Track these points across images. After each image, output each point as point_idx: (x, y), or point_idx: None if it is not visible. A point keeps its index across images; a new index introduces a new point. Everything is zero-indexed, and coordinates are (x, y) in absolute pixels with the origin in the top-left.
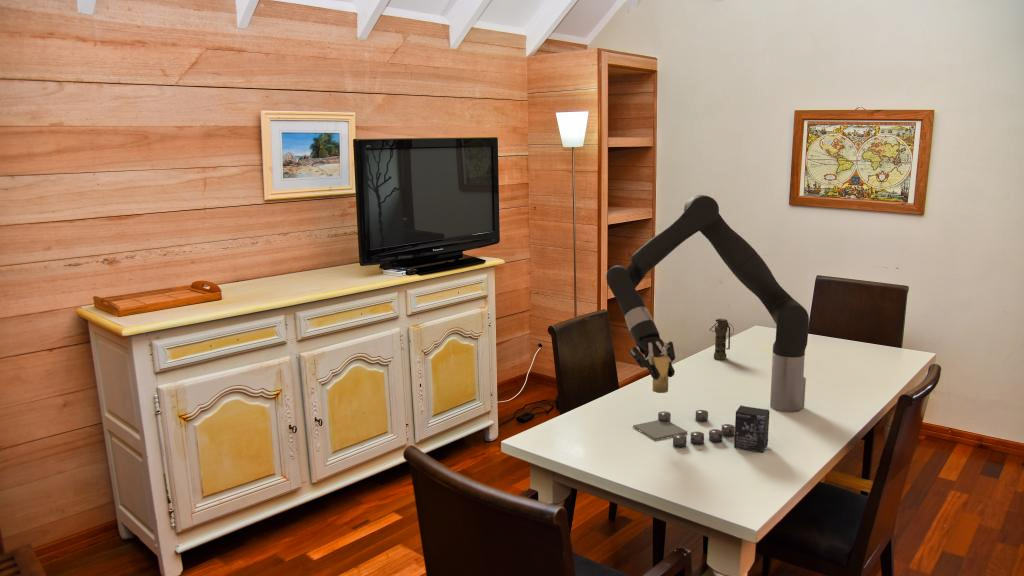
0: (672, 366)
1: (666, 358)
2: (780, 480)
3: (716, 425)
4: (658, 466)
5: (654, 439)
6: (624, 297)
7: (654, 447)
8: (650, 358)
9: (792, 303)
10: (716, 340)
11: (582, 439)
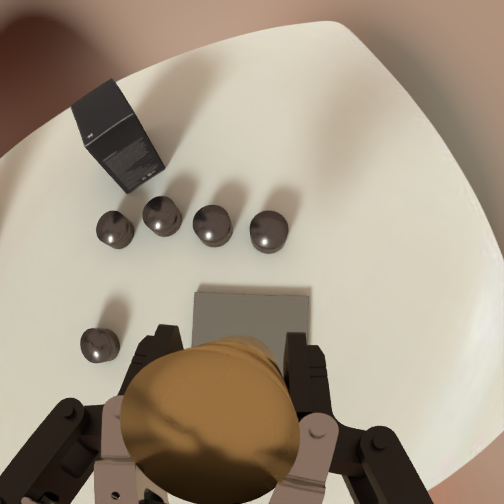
0: (127, 372)
1: (190, 351)
2: (210, 58)
3: (99, 295)
4: (377, 171)
5: (308, 297)
6: None
7: (334, 258)
8: (312, 473)
9: None
10: None
11: (449, 378)
